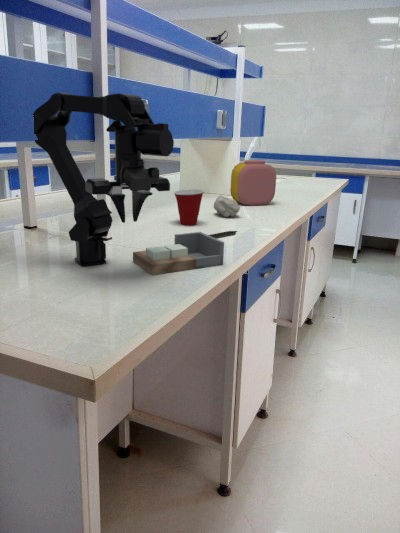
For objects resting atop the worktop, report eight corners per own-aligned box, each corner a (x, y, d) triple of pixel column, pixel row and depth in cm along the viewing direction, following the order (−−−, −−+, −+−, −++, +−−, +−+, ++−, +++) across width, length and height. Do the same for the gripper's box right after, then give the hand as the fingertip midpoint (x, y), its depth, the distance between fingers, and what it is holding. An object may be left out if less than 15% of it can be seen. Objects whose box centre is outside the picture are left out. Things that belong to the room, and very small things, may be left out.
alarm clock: (264, 201, 214) (268, 159, 208) (275, 205, 204) (279, 161, 198) (228, 202, 208) (231, 159, 202) (237, 206, 198) (240, 161, 192)
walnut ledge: (152, 275, 106) (152, 265, 106) (133, 261, 116) (132, 252, 115) (196, 268, 112) (196, 258, 111) (174, 255, 122) (174, 247, 121)
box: (196, 268, 112) (197, 245, 110) (174, 255, 122) (174, 234, 120) (223, 264, 116) (224, 242, 114) (199, 252, 126) (200, 231, 124)
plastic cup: (175, 219, 167) (176, 187, 163) (204, 221, 166) (205, 188, 162) (170, 226, 156) (170, 191, 153) (201, 228, 155) (202, 193, 152)
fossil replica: (223, 212, 185) (207, 217, 178) (222, 192, 182) (205, 196, 175) (246, 215, 176) (230, 220, 170) (245, 193, 174) (229, 198, 167)
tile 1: (153, 260, 109) (153, 252, 108) (145, 255, 113) (145, 247, 112) (170, 258, 111) (170, 250, 111) (162, 253, 115) (162, 246, 114)
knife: (234, 232, 153) (234, 228, 152) (247, 236, 148) (247, 232, 147) (172, 241, 138) (172, 237, 138) (184, 246, 133) (184, 242, 133)
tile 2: (171, 258, 112) (171, 250, 111) (163, 253, 115) (163, 245, 115) (187, 255, 114) (187, 248, 113) (179, 251, 117) (179, 244, 117)
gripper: (99, 157, 89) (102, 233, 94) (181, 156, 99) (180, 225, 103) (83, 152, 99) (86, 222, 103) (159, 152, 108) (159, 216, 113)
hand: (129, 222), depth 105 cm, fingers open, 3 cm apart
